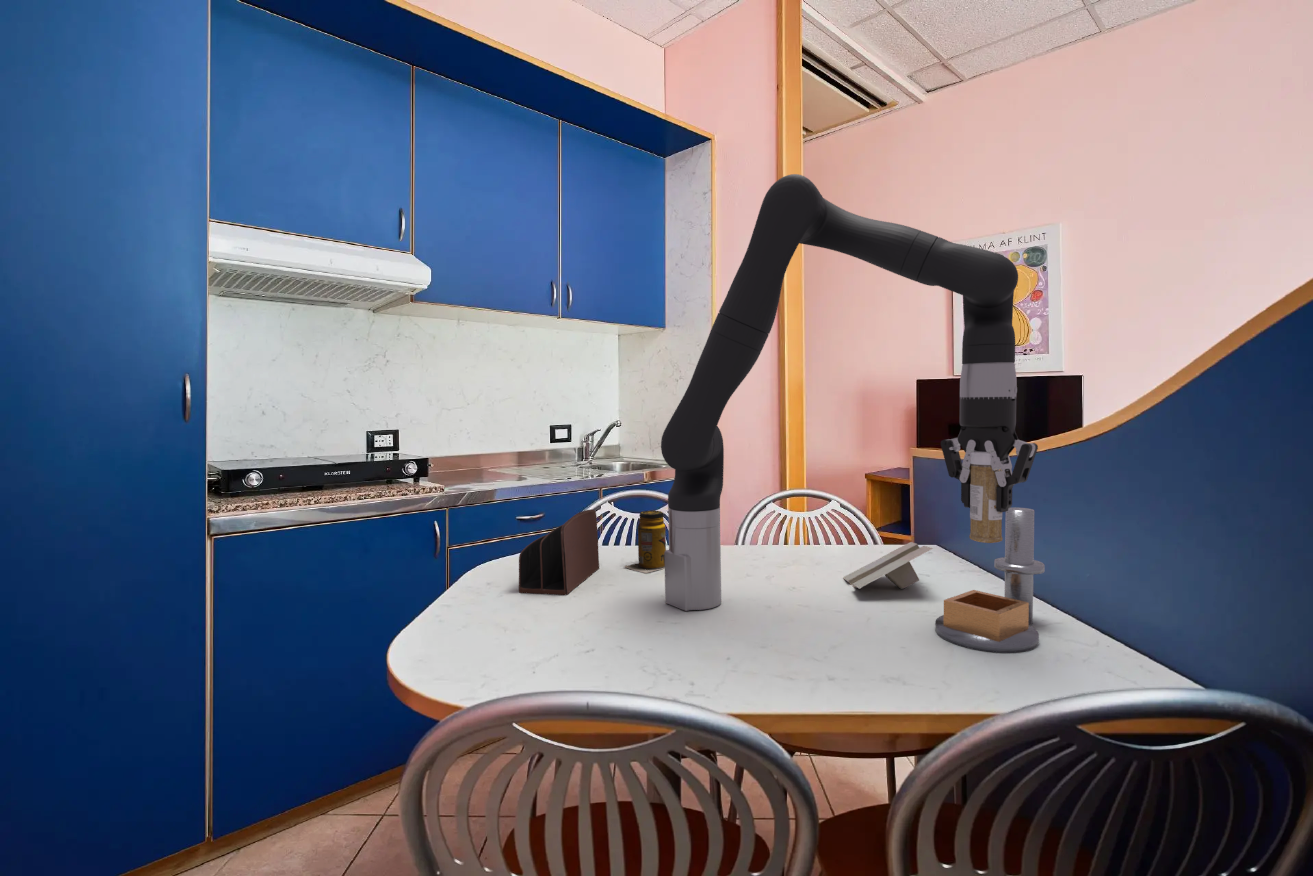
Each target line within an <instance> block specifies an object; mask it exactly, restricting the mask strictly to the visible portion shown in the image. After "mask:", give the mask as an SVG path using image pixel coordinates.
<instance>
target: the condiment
mask: <svg viewBox="0 0 1313 876" xmlns="http://www.w3.org/2000/svg"><path fill="white" fill-rule="evenodd" d="M664 516H665V515H664V512H663V511H661V510H645V511H641V512H639V519H638V521H639V524H638V525H637V549H638V550H637V551H638V556H637V557H638V562H637V563H633V564H629V565H625V566H623V567H624V568H626V569H629V570H632V571H635V572H640V573H644V574H649V573H653V572H656V571H659V570H665V559H664V552H665V551H666V550H667V548H666V546H667V544H666V541H667V540H666V536H667V535H666V530H667V529H666V525H665V523H664V521H665V519H664Z"/></svg>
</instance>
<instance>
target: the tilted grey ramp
mask: <svg viewBox="0 0 1313 876" xmlns="http://www.w3.org/2000/svg"><path fill="white" fill-rule="evenodd" d="M933 549H934V548H933V547H930V546H927V545H923V546H921V547H920V546H919V544H918V543H916V542H913V541H909V542H908V543H906V544H904V545H902V546H899V547H898V548H896V549H894V550H892V551H891V552H889V553H886V554H885V555H883V556H881V557H880V558H877V559H876V560H874V561H872V562H869V563H868V564H866V565H864V566H862V567H860V568H858V569H856V570H854V571H853V572H850V573H849V574H846V575H845V576H843V578H842V579H844V580H845V581H847V583H849V584H850V585H851V586H852V587H853V588H855V589H857V588H858V589H859V590H860V589H862V588H863V587H865V586H867V585H869V584H870V583H873V582H874V581H876V580H878V579H880V578H882V577H886V578H887V579H888V580H890V581H891V583H893V584H894V585H896V587H897V588H899V589H901V590H904V589H905V588H907V587H910V586H912V585H914V584H916V583H917V582H919V581H920V578H919V577H918V574H917V573H916V570H915V569H914V567H913V565H912V564H911V561H912V560H914V559H916V558H918V557H920V556H922V555H924V554H926V553H928V552H929V551H931V550H933Z"/></svg>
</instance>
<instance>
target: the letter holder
mask: <svg viewBox="0 0 1313 876" xmlns="http://www.w3.org/2000/svg"><path fill="white" fill-rule="evenodd" d="M597 517H598V516H597V511H596V510H595V509H592V508H591V509H585V510H582V511H579V512H577V513H576V514H574V515H573V516H572V517H570V518H569V519H568V520H566V521H565V522H564V523H563V524H561V525H560V526H557V527H555V528H554V529H552V530H551V531H549V533H547V534H545V535H542V536H540V537H539V538H537V539H535V540H534V541H532V542H530V543H529V544H528V545H526V546H525V547H524V548H523V549H522V550H521V551H520V553H519V556H518V593H519V594H533V595H551V596H553V595H554V596H568V595H569V594H570V593H571V592H572V591H573V590H575V589H576V588H577V587H578V586H579V585H581V584H582V583H583V582H584V581H586V580H587V579H588V578H589V577H591V576H592V575H593V574H595V573H596V572H598V570H599V569H600V559H599V558H600V556H599V555H600V554H599V538H598V534H599V533H598V522H597Z"/></svg>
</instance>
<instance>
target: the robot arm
mask: <svg viewBox="0 0 1313 876" xmlns="http://www.w3.org/2000/svg"><path fill="white" fill-rule="evenodd" d="M799 244H800V245H807V246H811V247H818V248H822V249H826V250H830V251H834V252H838V253H841V254H845V255H848V256H850V257H853V258H856V259H859V260H862V261H864V262H866V263H869V264H871V265H874V266H876V267H878V268H880V269H883V270H885V271H888V272H891V273H893V274H895V275H898V276H900V277H902V278H906V279H908V280H911V281H912V282H913V281H914V282H917V283H919V284H922V285H925V286H930V287H941V288H943V289H945V290H948V291H951V292H953V293H956V294H958V295H961V296H962V309H963V325H964V326H963V327H964V328H963V329H964V330H963V335H962V341H961V342H962V345H961V346H962V347H961V364H962V365H961V372H960V378H959V426H960V430H959V434H958V435H957V437H954V438H951V439H949V438H948V439H943V440H941V441H940V446H941V447H940V448H941V451H942V455H943V458H944V461H945V466H946V470H947V473H948V476H949V477H950V478H954V479H956V480H958V481H959V482H960V500H961V503H962V504H963V506H964V508H968V509H970V484H971V465H972V464H971V453H972V452H976V451H979V452H987V453H989V454H990V458H991V467H992V470H993V471H994V472H995V474H996V478H997V481H998V484H999V487H997V494H996V510H997V512H1002V513H1006V511H1008V509H1009V508H1012V506H1013V489H1014V486H1015V485H1016V484H1021V483H1025V482H1027V480H1028V478H1029V475H1030V472H1031V470H1032V466H1033V463H1034V460H1035V458H1036V454H1037V451H1038V449H1039V446H1038V444H1037V443H1035V442H1027V441H1024V440H1020V439H1019V438H1018V434H1017V433H1016V424H1017V393H1018V387H1017V386H1018V385H1017V382H1018V381H1017V373H1016V372H1017V371H1016V370H1017V369H1016V363H1015V362H1016V334H1015V329H1014V326H1013V318H1014V317H1013V316H1014V315H1013V314H1014V313H1013V312H1014V294H1015V290H1016V287H1017V285H1018V282H1019V273H1018V269H1017V267H1016V265H1015V263H1014V262H1013V261H1012V260H1011V259H1009V258H1008V257H1006V256H1004V255H1002V254H1000V253H996V252H994V251H991V250H987V249H983V248H978V247H976V246H970V245H966V244H963V243H962V244H961V243H956V242H955V243H954V242H952V241H949V240H947V239H945V238H942V237H940V236H937V235H934V234H932V233H929V232H926V231H923V230H920V229H918V228H915V227H911V226H907V225H903V224H900V223H894V222H889V221H882V220H879V219H878V220H877V219H873V218H868V217H864V216H861V215H858V214H855V213H852V212H850V211H848V210H845V209H843V208H841V207H840V206H838V205H836V204H834V203H833V202H831V201H829V200H827V199H826V198H824V197H823V195H822V194H821V192H820V191H819V189H818V188H817V186H816V185H815V184H814V182H813V181H811V180H810V179H809V178H808V177H806V176H805V175H802V174H797V173H793V174H788V175H785V176H782V177H781V178H779V179H778V180H776V181H775V182H774V183H773V184H772V185H771V186H770V187H769V189H768V190H767V192H766V193H765V196H764V197H763V200H762V202H761V204H760V209H759V211H758V215H757V219H756V221H755V224H754V228H753V230H752V234H751V236H750V240H749V243H748V246H747V249H746V252H745V254H744V256H743V258H742V261H741V263H740V265H739V266H738V269H737V272H736V273H735V275H734V278H733V280H732V283H731V284H730V287H729V289H728V291H727V294H726V295H725V298H724V301H723V302H722V305H721V306H720V309H719V310H718V313H717V315H716V317H715V320H714V322H713V324H712V327H711V329H710V331H709V334H708V337H707V340H706V342H705V345H704V347H703V350H702V352H701V354H700V356H699V359H698V361H697V364H696V366H695V369H694V372H693V375H692V377H691V379H690V381H689V384H688V386H687V388H686V390H685V393H684V395H683V396H682V398H681V400H680V402H679V403H678V405H677V407H676V408H675V411H674V413H672V416H671V417H670V419H669V421H668V422H667V425H666V426H665V428H664V430H663V433H662V436H661V440H660V450H661V455H662V458H663V459H664V462H665V463H666V464H667V465H668V466H669V467H670V468H672V469H673V470H674V480H673V483H672V486H671V487H670V490H669V491H668V494H667V508H668V511H667V513H668V515H667V516H668V519H667V520H668V549H666V551H665V552H664V559H665V569H664V597H665V600H664V603H665V604H668V605H670V606H673V607H675V608H677V609H680V610H682V611H685V612H688V611H696V610H697V611H698V610H699V611H702V610H708V609H713V608H716V607H718V606H720V605H721V604H722V561H721V559H722V557H721V554H722V553H721V550H722V549H721V546H722V545H721V496H722V493H723V488H724V487H723V486H724V463H725V462H724V459H725V457H724V456H725V455H724V454H725V453H724V452H725V451H724V450H725V449H724V447H725V446H724V439H723V435H722V432H721V429H720V428H719V427H718V425H719V421H720V419H721V417H722V414H723V411H724V410H725V408H726V406H727V404H728V402H729V400H730V399H731V397H732V395H733V394H734V393H735V391H736V390H737V389H738V388H739V386H740V385H741V384H742V382H743V381H744V380H745V379H746V377H747V376H748V374H750V372H751V370H752V368H753V367H754V365H755V364H756V362H757V361H758V359H759V357H760V355H761V352H762V350H763V348H764V346H765V344H766V342H767V339H768V338H769V336H770V333H771V331H772V328H773V326H774V323H775V319H776V316H777V313H778V307H779V302H780V298H781V291H782V289H783V288H782V287H783V283H784V278H785V276H786V275H785V274H786V273H787V270H788V267H789V264H790V262H791V260H792V258H793V257H794V255H795V253H796V250H797V248H798V246H799ZM961 448H962V450H963V451H964V457H963V459H962V458H961V455H960V450H961ZM1013 450H1015V454H1016V456H1017V457H1016V461H1015V464H1014V467H1013V464H1012V461H1011V458H1010V455H1011V453H1012V451H1013ZM993 456H994V457H993ZM1000 461H1004V464H1001V462H1000Z"/></svg>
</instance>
